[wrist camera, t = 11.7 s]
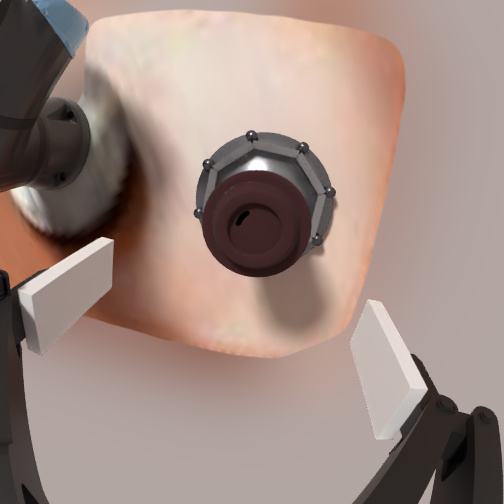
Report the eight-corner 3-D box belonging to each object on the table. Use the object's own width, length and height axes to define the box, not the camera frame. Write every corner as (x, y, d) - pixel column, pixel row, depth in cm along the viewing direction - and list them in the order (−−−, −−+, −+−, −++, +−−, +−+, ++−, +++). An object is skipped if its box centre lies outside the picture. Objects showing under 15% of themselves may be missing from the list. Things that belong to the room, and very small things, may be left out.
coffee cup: (310, 227, 42) (324, 270, 27) (238, 245, 43) (217, 295, 29) (290, 154, 39) (296, 158, 25) (216, 175, 40) (182, 191, 26)
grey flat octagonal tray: (189, 247, 45) (184, 252, 43) (212, 121, 39) (208, 119, 37) (311, 276, 45) (313, 282, 43) (345, 151, 39) (349, 151, 37)
